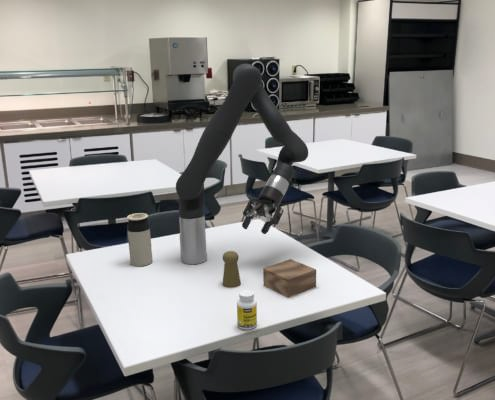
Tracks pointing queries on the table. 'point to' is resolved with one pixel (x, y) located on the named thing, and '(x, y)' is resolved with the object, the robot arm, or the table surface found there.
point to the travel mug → (139, 239)
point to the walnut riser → (289, 277)
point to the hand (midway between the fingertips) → (253, 230)
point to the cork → (231, 270)
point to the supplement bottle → (246, 310)
